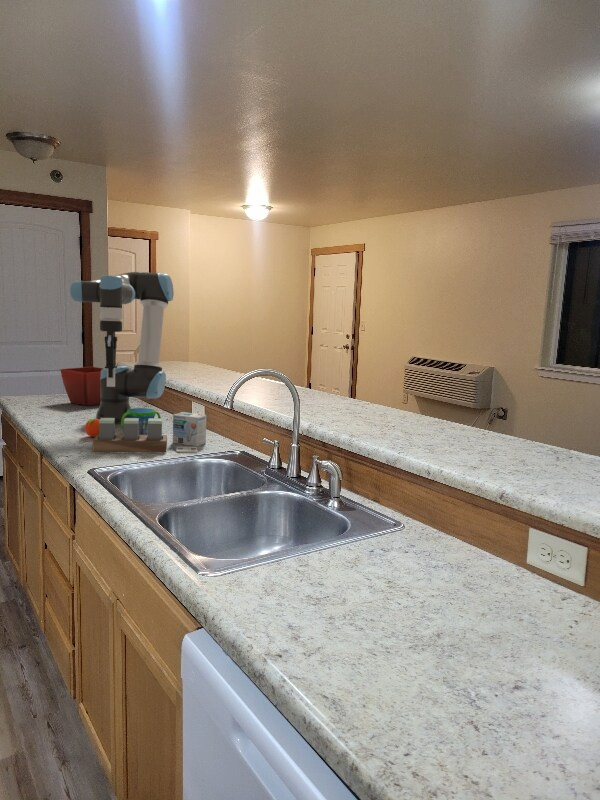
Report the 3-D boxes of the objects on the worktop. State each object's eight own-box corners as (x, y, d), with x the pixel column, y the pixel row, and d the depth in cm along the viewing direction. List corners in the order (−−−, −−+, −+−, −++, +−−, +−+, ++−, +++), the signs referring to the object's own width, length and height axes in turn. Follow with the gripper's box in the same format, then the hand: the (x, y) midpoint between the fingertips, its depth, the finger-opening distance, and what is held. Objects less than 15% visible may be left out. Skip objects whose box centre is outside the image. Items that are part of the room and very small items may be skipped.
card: (176, 448, 212) (176, 446, 212) (196, 448, 213) (196, 446, 213) (176, 452, 206) (176, 450, 206) (197, 452, 208) (197, 450, 207)
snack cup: (156, 432, 237) (156, 406, 236) (165, 437, 229) (166, 411, 227) (116, 435, 229) (116, 408, 227) (125, 440, 220) (125, 413, 219)
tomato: (96, 440, 219) (96, 421, 218) (79, 438, 220) (79, 419, 219) (107, 435, 227) (107, 417, 226) (91, 434, 228) (91, 415, 227)
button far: (148, 437, 211) (148, 418, 210) (161, 438, 212) (162, 418, 211) (147, 440, 206) (147, 420, 205) (161, 440, 207) (161, 421, 206)
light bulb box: (171, 443, 220) (172, 414, 219) (181, 439, 227) (182, 411, 225) (197, 446, 217) (198, 417, 215) (206, 443, 223) (207, 414, 221)
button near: (101, 437, 208) (101, 417, 207) (114, 437, 209) (114, 417, 208) (99, 440, 203) (99, 420, 202) (113, 440, 204) (113, 420, 203)
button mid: (124, 437, 209) (125, 418, 208) (138, 437, 210) (138, 418, 209) (123, 440, 205) (123, 420, 204) (137, 440, 206) (137, 420, 205)
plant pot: (85, 408, 283) (84, 372, 280) (59, 403, 293) (59, 368, 290) (117, 403, 299) (117, 370, 296) (92, 399, 309) (92, 366, 306)
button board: (97, 445, 211) (97, 434, 210) (166, 445, 215) (167, 435, 215) (92, 452, 201) (92, 440, 200) (166, 452, 206) (166, 441, 205)
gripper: (102, 319, 217) (102, 383, 220) (97, 320, 204) (97, 388, 208) (123, 320, 218) (123, 384, 222) (120, 321, 206) (119, 389, 209)
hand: (110, 386), depth 215 cm, fingers closed
